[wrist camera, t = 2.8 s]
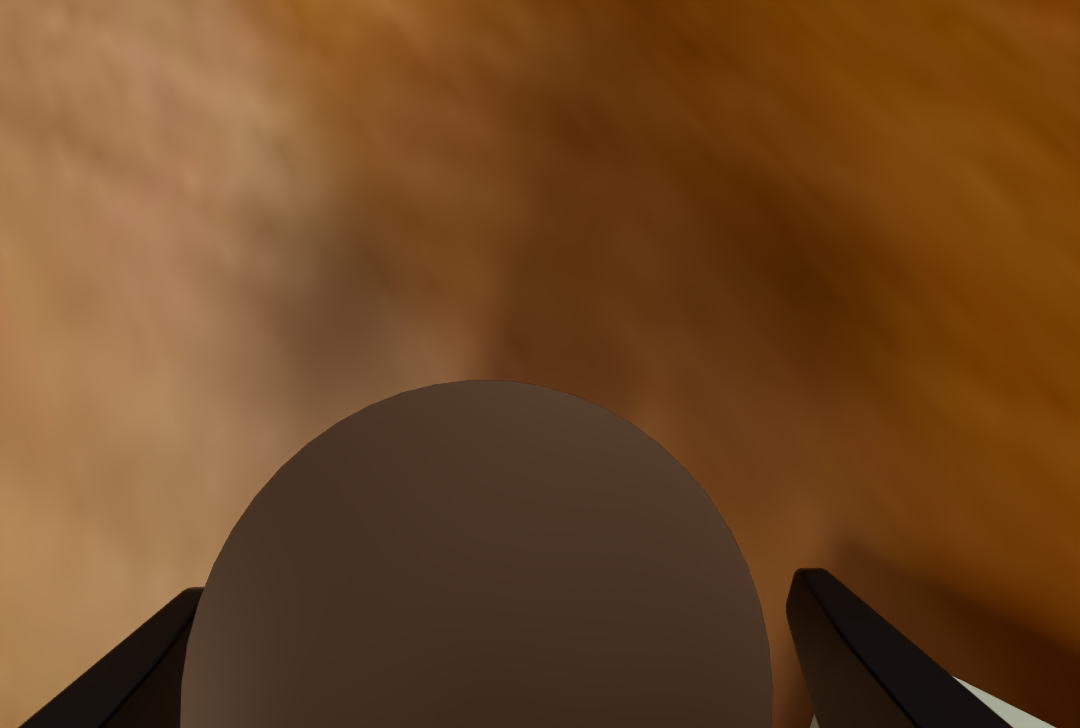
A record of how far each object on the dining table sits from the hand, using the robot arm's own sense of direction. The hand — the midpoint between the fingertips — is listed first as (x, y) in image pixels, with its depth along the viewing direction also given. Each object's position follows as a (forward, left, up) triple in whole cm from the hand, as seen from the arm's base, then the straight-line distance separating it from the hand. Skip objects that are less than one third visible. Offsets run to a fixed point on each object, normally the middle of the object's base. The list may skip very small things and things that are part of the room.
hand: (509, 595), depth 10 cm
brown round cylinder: (0, 0, -8) cm, 8 cm away
